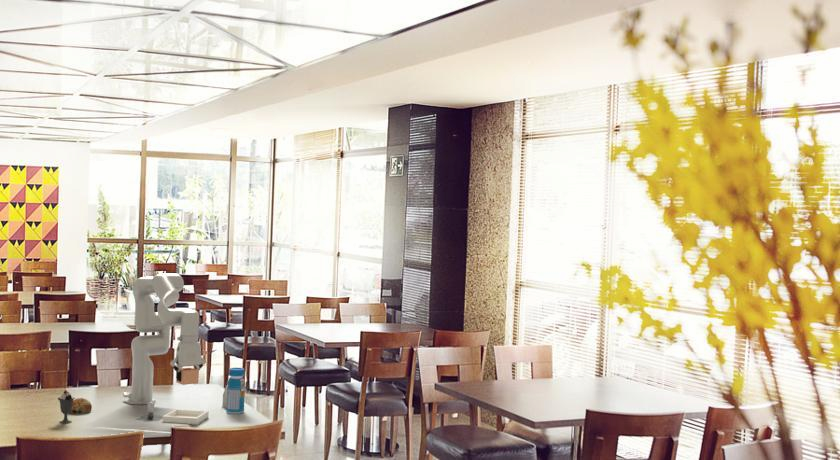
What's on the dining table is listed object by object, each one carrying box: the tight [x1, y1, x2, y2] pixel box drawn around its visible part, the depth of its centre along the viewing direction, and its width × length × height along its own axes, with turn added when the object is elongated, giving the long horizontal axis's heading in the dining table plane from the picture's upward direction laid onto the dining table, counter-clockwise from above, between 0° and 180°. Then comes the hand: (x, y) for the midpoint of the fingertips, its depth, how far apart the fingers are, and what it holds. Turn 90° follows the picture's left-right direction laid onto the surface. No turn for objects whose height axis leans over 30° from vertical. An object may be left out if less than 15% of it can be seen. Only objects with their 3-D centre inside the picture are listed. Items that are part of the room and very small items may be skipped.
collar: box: [175, 366, 200, 386], centre depth 355 cm, size 7×7×6 cm
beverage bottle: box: [225, 367, 246, 415], centre depth 376 cm, size 8×8×20 cm
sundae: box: [57, 385, 76, 425], centre depth 343 cm, size 7×7×15 cm
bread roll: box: [68, 397, 93, 415], centre depth 363 cm, size 10×10×8 cm
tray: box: [161, 408, 209, 427], centre depth 355 cm, size 15×15×3 cm
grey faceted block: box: [221, 385, 228, 409], centre depth 385 cm, size 4×7×10 cm, turn 62°
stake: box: [134, 402, 163, 422], centre depth 354 cm, size 10×10×7 cm
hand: (187, 379), depth 355 cm, fingers closed on collar, 7 cm apart
